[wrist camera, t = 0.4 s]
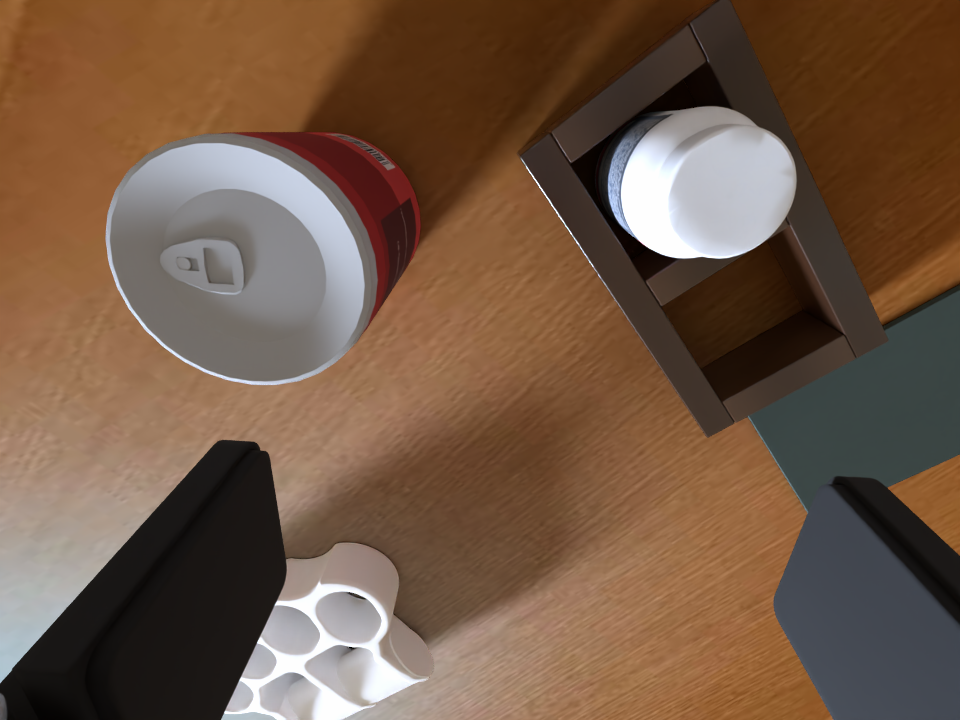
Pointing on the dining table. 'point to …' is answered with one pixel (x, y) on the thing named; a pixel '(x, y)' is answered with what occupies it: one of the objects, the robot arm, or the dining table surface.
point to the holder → (659, 278)
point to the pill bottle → (696, 181)
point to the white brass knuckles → (332, 641)
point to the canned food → (261, 248)
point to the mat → (875, 408)
